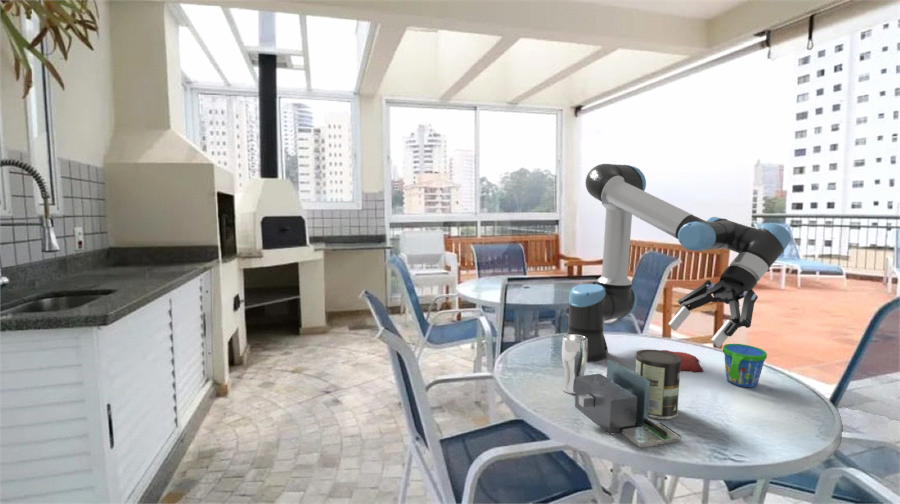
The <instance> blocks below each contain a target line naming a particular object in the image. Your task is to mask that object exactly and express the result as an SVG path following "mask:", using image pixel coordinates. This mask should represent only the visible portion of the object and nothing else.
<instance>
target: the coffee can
mask: <svg viewBox="0 0 900 504" xmlns="http://www.w3.org/2000/svg"><path fill="white" fill-rule="evenodd" d="M680 365H681V358H680V357H679V356H677V355H675V354H672V353H670V352H666V351H661V350H659V349H641V350H638V351H636V352H635V371H634V372H635V373H637V374H639V375H641V376H643V377H644V378H646V379H648V380H650V391H649V407H648V418H652V419H657V420H672V419H675V418H677V416H678V415H679V414H678V413H679V412H678V410H679V409H678V408H679V395H680V394H679V393H680V378H681V377H680V376H681V371H680Z"/></svg>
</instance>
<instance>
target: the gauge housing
mask: <svg viewBox="0 0 900 504" xmlns="http://www.w3.org/2000/svg"><path fill="white" fill-rule="evenodd" d="M586 394H592V395H593V396H595V406H588V407H582V406H581V405H580V404H579V395H586ZM574 395H575V397H574V399H575V401H574V407H575V408H576V409H577V410H579V411H580V412H581V413H582V414H583V415H585V416H586V417H587V418H588V419H590V420H591V421H592V422H593V423H594V424H596V425H597V426H598V425H599V426H600V429H602V430H603V429H604V430H605V431H604V430H603V431H604V432H606V433H607V432H608V433H609V434H608V433H607V434H608V435H612V434H611V433H615V434H620V433H621V434H622V435H623V436H625V438H627V439H628V440H630V441H631V442H632V443H633V444H634V445H636V446H637V447H638V446H639V448H640V449H642V448H641V447H644V448H648V447H654V445H655V446H659V445H658V444H660V445H665V444H670V443H676V442H679V441H680V437H682V436H681V434H679V433H677V432H676V431H674V430H673V429H671V428H669V427H668V426H666V425H665V424H664V423H662V422H659V423H654V424H655V425H657V426H658V427H660V428H661V429H663V430H664V431H666V432H667V436H663V435H661V434H660V433H658V432H657V431H655V430H654V429H652V428H651V427H650V426H648V425H644V426H641V425H640V426H637V424H636V423H637V422H636V411H637V396H635V395H633V394H632V393H630V392H629V391H627V390H625V389H624V388H622V387H621V386H619V385H617V384H616V383H614V382H613V381H611V380H609V379H608V378H607V376H604V375H603V374H601V373H596V374H595V373H593V374H586V375H585V374H584V376H577V377H576V394H574ZM599 426H598V427H599Z"/></svg>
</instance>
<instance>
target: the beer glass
mask: <svg viewBox="0 0 900 504" xmlns="http://www.w3.org/2000/svg"><path fill="white" fill-rule="evenodd" d="M566 334H567V333H566ZM566 334H564V335H562V342H561V364H562V369H563V370H562V371H563V381H562V384H561V389H562V391H563V392H565V393H566V394H570V395H576V377H577V376H585V372H586V366H587V363H588V360H587V357H588V341H587V340H588V339H587V337H585V336H582V335H577V334H567V335H566Z"/></svg>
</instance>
